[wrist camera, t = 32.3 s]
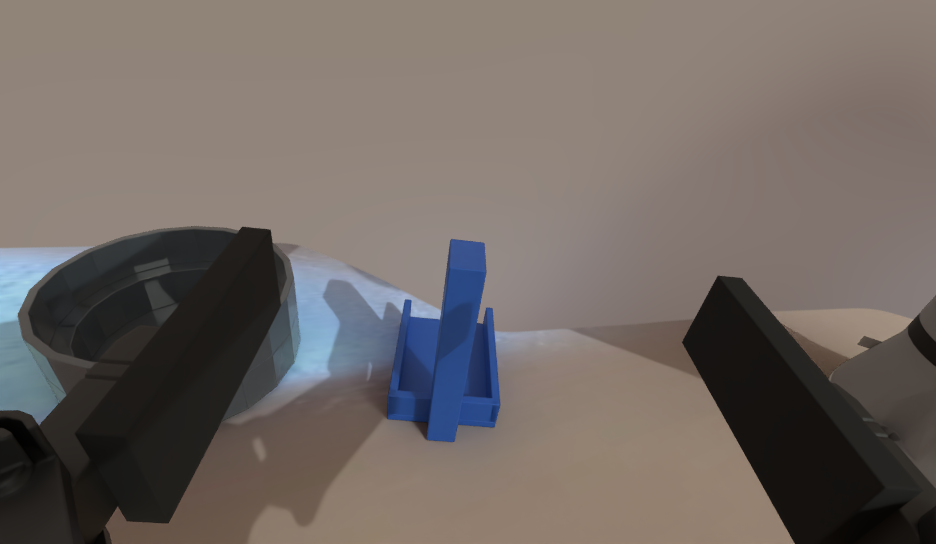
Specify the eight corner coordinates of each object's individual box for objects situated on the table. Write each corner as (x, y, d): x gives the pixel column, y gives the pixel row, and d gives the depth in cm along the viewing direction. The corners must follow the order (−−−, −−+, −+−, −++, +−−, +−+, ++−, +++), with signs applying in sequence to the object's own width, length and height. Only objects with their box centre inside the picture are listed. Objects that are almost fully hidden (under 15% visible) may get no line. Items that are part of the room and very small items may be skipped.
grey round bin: (340, 341, 39) (338, 275, 35) (153, 489, 27) (117, 415, 23) (215, 271, 45) (201, 208, 41) (13, 370, 33) (-35, 293, 29)
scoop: (495, 445, 33) (542, 277, 24) (384, 437, 32) (391, 261, 24) (488, 328, 43) (519, 182, 35) (403, 320, 42) (413, 169, 34)
